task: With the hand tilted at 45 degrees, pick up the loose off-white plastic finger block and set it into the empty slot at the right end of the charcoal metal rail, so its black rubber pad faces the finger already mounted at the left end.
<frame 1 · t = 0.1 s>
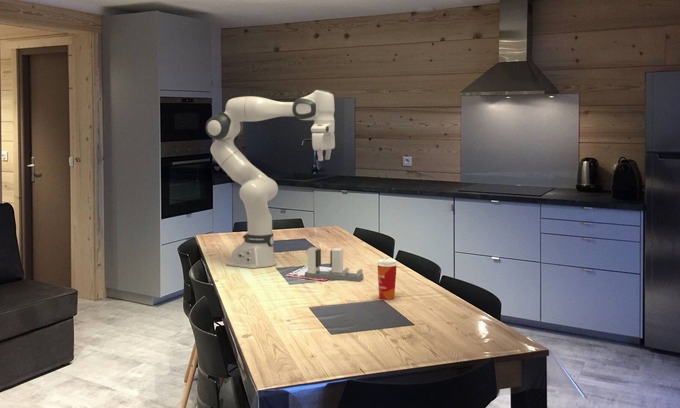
hand: (324, 160, 289), 48 cm above the table, tool pointing down, fingers open, 8 cm apart
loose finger: (337, 272, 289), on the table
paper cup: (386, 298, 248), on the table
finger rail: (334, 278, 278), on the table
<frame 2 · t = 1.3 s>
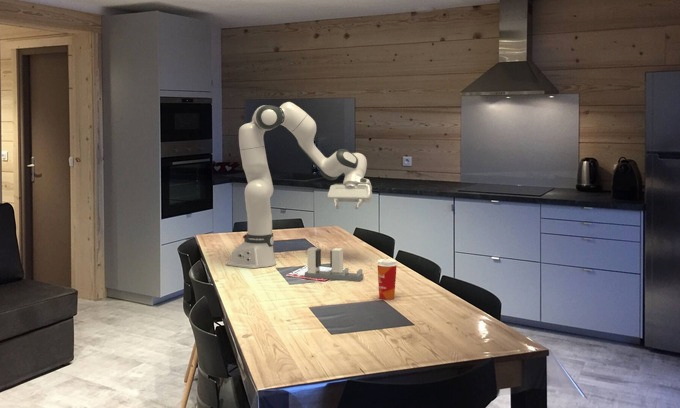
hand: (346, 208, 298), 26 cm above the table, tool tilted 45°, fingers open, 8 cm apart
nothing on the table moved.
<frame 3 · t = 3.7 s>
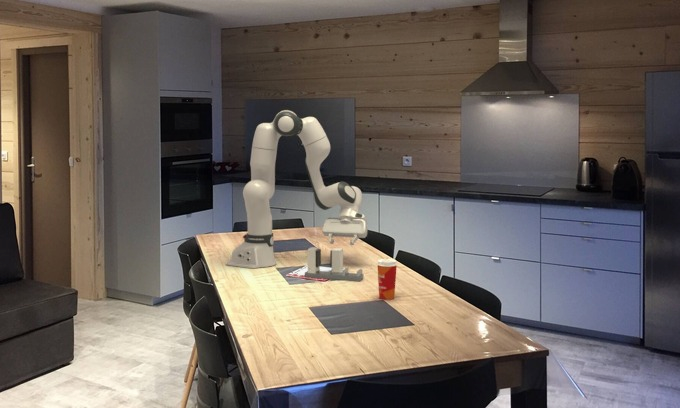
hand: (341, 243, 295), 11 cm above the table, tool tilted 45°, fingers open, 8 cm apart
nothing on the table moved.
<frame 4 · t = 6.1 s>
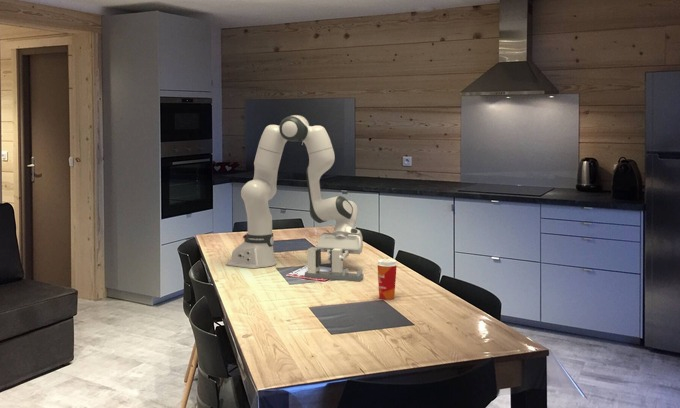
hand: (336, 259, 288), 5 cm above the table, tool tilted 45°, fingers closed on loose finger, 4 cm apart
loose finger: (337, 272, 289), on the table, touching gripper
everything else where it was.
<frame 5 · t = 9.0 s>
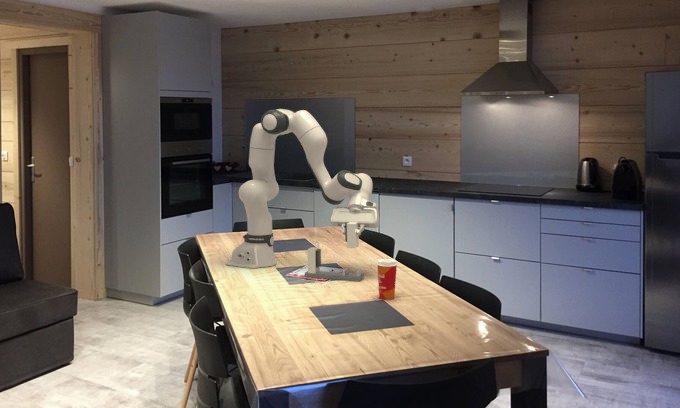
hand: (351, 234, 274), 19 cm above the table, tool tilted 45°, fingers closed on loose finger, 4 cm apart
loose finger: (352, 247, 275), point 13 cm above the table, touching gripper
everything else where it was.
when the fingers open (8 cm above the table, at t = 11.9 s): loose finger stays where it is, resting on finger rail.
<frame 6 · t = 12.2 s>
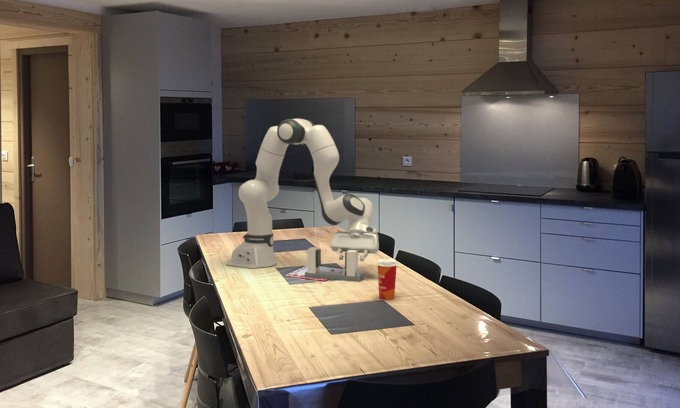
hand: (351, 259, 275), 8 cm above the table, tool tilted 45°, fingers open, 8 cm apart
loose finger: (352, 274, 276), point 2 cm above the table, touching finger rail
everything else where it was.
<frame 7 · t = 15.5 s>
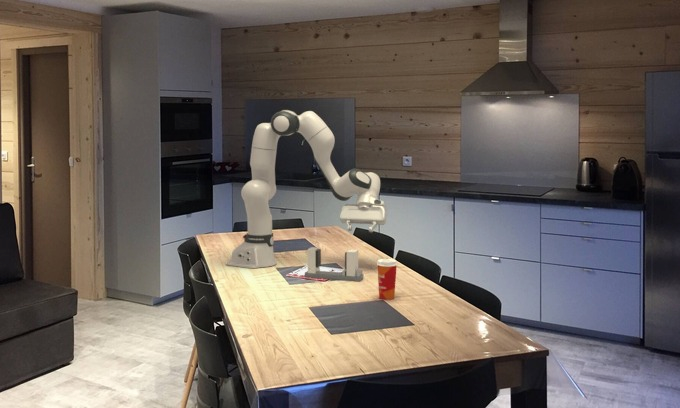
hand: (359, 230, 285), 18 cm above the table, tool tilted 45°, fingers open, 8 cm apart
nothing on the table moved.
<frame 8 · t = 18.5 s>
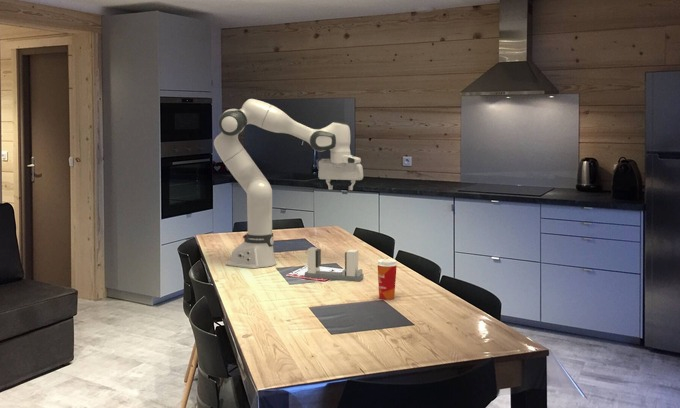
hand: (340, 189, 299), 34 cm above the table, tool pointing down, fingers open, 8 cm apart
nothing on the table moved.
at the end: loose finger 0.1 cm from the target spot on the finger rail, point 2.0 cm above the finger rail's base; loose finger tilted 0°; the gripper is holding nothing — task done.
